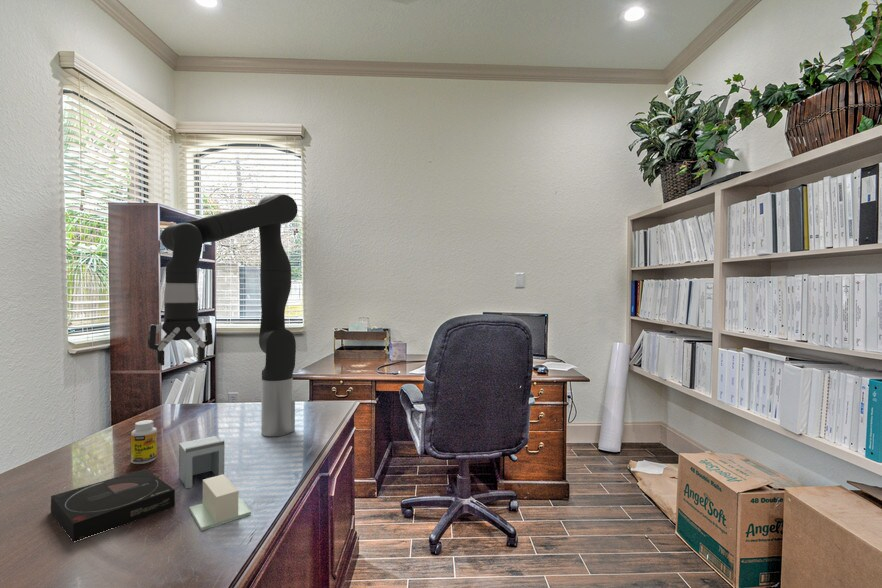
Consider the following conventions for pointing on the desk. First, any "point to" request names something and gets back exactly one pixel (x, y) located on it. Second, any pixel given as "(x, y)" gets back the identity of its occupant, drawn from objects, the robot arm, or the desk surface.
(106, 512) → the portable cd player
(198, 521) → the mat
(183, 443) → the dispenser
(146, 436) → the supplement bottle
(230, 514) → the beige rectangular block
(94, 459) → the desk surface
